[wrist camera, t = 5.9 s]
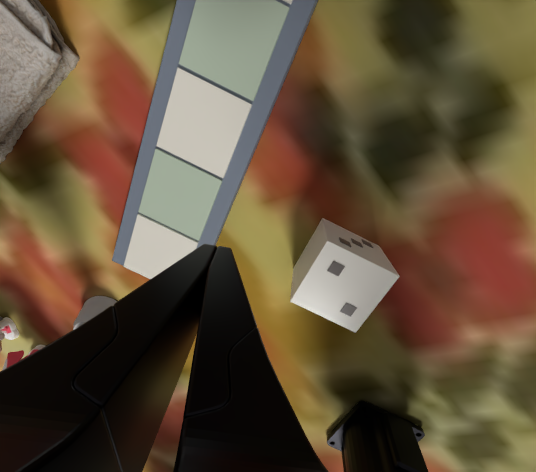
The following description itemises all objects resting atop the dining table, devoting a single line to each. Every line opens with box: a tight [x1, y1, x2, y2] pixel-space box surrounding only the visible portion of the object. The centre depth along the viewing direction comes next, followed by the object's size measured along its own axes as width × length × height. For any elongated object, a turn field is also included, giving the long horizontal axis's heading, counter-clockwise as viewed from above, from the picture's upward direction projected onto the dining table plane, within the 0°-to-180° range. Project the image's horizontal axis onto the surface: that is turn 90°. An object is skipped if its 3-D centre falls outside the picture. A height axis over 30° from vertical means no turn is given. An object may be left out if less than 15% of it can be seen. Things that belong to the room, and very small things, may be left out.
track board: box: [112, 0, 318, 279], centre depth 17 cm, size 25×7×1 cm, turn 155°
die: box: [290, 218, 400, 333], centre depth 17 cm, size 5×4×5 cm
